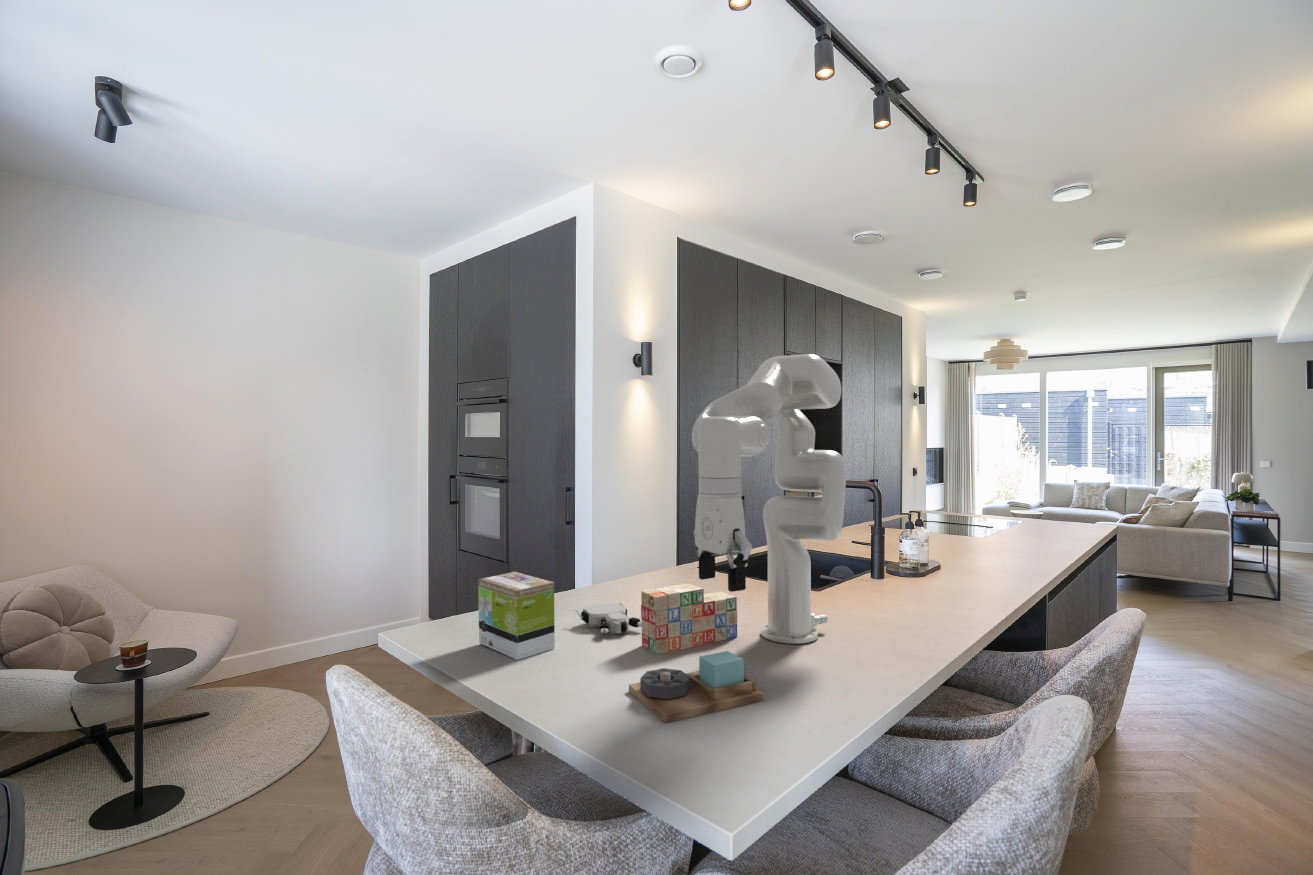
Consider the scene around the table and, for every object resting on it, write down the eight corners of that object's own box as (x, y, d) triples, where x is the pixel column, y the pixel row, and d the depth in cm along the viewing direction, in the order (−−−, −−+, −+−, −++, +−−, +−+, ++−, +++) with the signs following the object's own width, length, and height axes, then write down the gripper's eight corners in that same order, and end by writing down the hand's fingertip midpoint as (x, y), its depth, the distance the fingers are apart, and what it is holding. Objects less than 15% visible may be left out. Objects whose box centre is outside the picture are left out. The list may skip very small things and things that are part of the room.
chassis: (719, 672, 121) (719, 650, 121) (763, 699, 109) (763, 675, 109) (628, 691, 113) (628, 667, 113) (664, 722, 100) (664, 696, 100)
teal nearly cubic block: (727, 678, 115) (727, 650, 115) (743, 688, 110) (743, 659, 110) (699, 684, 112) (699, 656, 112) (714, 694, 108) (714, 665, 108)
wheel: (674, 676, 115) (674, 665, 115) (697, 692, 108) (696, 681, 108) (634, 684, 112) (634, 673, 112) (654, 701, 104) (654, 689, 104)
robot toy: (648, 636, 147) (618, 615, 160) (648, 617, 147) (619, 598, 159) (600, 645, 141) (573, 623, 153) (600, 625, 140) (573, 605, 153)
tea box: (476, 645, 138) (476, 577, 138) (515, 634, 146) (515, 570, 146) (517, 661, 128) (516, 588, 128) (556, 649, 136) (556, 580, 136)
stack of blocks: (721, 630, 148) (721, 578, 148) (737, 638, 142) (737, 583, 142) (641, 646, 137) (640, 589, 137) (655, 655, 132) (655, 595, 132)
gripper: (678, 484, 117) (679, 576, 118) (729, 492, 102) (730, 598, 102) (712, 482, 121) (713, 572, 121) (767, 490, 105) (768, 592, 105)
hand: (721, 584), depth 112 cm, fingers open, 9 cm apart
